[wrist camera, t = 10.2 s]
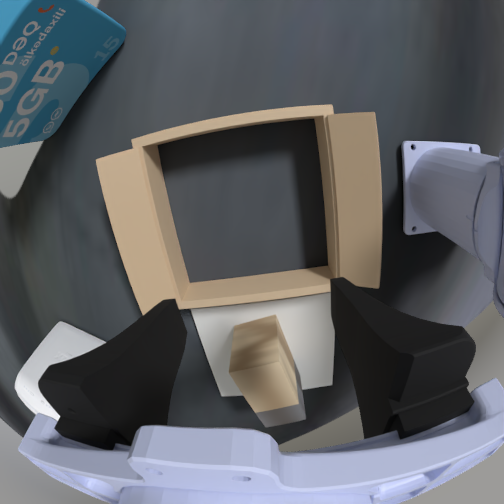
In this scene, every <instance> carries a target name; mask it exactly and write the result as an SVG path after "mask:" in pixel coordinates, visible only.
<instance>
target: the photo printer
mask: <svg viewBox="0 0 504 504" xmlns="http://www.w3.org/2000/svg"><path fill="white" fill-rule="evenodd" d="M104 343H106V342H105V341H103V340H101V339H99V338H96V337H94V336H92V335H90V334H88V333H86V332H84V331H82V330H80V329H78V328H75V327H73V326H71V325H69V324H67V323H64V322H59V323H57V324H56V326H55V327H54V328H53V329H52V330H51V331H50V333H49V334H48V335H47V336H46V338H45V339H44V340H43V341H42V342H41V344H40V345H39V346H38V348H37V349H36V350H35V351H34V353H33V354H32V355H31V357H30V358H29V359H28V361H27V362H26V363H25V365H24V366H23V368H22V369H21V370H20V372H19V374H18V376H17V378H16V382H15V390H16V391H17V394H18V396H19V397H20V399H21V400H22V401H23V402H24V404H25V405H26V406H27V407H28V408H29V409H30V410H31V411H32V412H34V413H35V414H37V413H41V414H44V415H47V416H50V417H52V418H54V419H55V420H57V421H58V420H59V418H60V415H59V414H58V413H57V412H56V411H55V410H54V409H53V408H52V406H51V405H50V404H49V403H48V402H47V400H46V399H45V398H44V397H43V395H42V394H41V392H40V390H39V387H38V381H39V379H40V378H41V376H42V375H43V373H44V372H45V370H46V369H47V368H48V366H49V365H52V364H56V363H59V362H63V361H66V360H69V359H72V358H75V357H77V356H80V355H82V354H85V353H87V352H89V351H91V350H93V349H95V348H97V347H99V346H101V345H103V344H104Z"/></svg>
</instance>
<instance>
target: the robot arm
mask: <svg viewBox="0 0 504 504" xmlns="http://www.w3.org/2000/svg"><path fill="white" fill-rule="evenodd" d="M411 145H413V147H414V148H413V150H412V149H411ZM469 147H470V151H469ZM401 149H402V164H403V193H404V213H403V231H404V233H405V234H407V235H413V234H420V233H427V232H434V231H438V232H439V233H441V234H443V235H444V236H446V237H447V238H449V239H450V240H452V241H453V242H454V243H456V244H457V245H459V246H460V247H462V248H463V249H465V250H466V251H467V252H469V253H470V254H472V255H473V256H474V257H476V258H477V259H478V260H480V261H481V262H482V263H483V265H484V275H485V276H486V277H487V278H488V279H489V280H491V281H492V282H493V283H494V289H493V300H494V304H495V306H496V309H497V310H498V312H499V313H500V314H501V315H502V317H503V318H504V149H503V150H501V151H500V152H499V157H494V156H490V155H485V154H480V147H479V146H478V145H476V144H465V143H451V142H430V141H404V142H403V143H402V145H401ZM413 227H415V228H414V230H412V228H413ZM330 290H331V318H332V322H333V326H334V330H335V333H336V336H337V338H338V341H339V343H340V346H341V348H342V351H343V353H344V356H345V359H346V361H347V364H348V366H349V369H350V372H351V375H352V378H353V382H354V386H355V391H356V395H357V400H358V404H359V409H360V415H361V420H362V426H363V432H364V439H363V440H359V441H355V442H351V443H346V444H341V445H336V446H330V447H325V448H319V449H312V450H305V451H297V452H280V451H279V448H278V444H277V442H276V441H275V440H274V439H273V438H272V437H271V436H270V435H269V434H267V433H264V432H261V431H257V430H255V429H247V428H235V427H231V428H203V427H179V426H167V419H168V411H169V404H170V398H171V393H172V389H173V385H174V382H175V378H176V375H177V372H178V369H179V366H180V363H181V359H182V356H183V353H184V349H185V344H186V337H187V330H186V327H185V325H184V322H183V319H182V316H181V314H180V311H179V308H178V305H177V302H176V299H165V300H162V301H161V302H159V303H158V304H157V305H155V306H154V307H153V308H152V309H151V310H149V311H148V312H147V313H146V314H144V315H143V316H142V317H141V318H140V319H138V320H137V321H136V322H135V323H133V324H132V325H131V326H129V327H128V328H127V329H125V330H124V331H123V332H121V333H120V334H119V335H117V336H116V337H114V338H113V339H111V340H109V341H108V342H106V343H104V344H103V345H101V346H99V347H97V348H95V349H93V350H91V351H89V352H87V353H85V354H82V355H80V356H77V357H75V358H72V359H69V360H66V361H63V362H59V363H56V364H52V365H49V366H48V368H47V369H46V370H45V372H44V373H43V375H42V376H41V378H40V379H39V381H38V387H39V390H40V392H41V394H42V395H43V397H44V398H45V399H46V400H47V402H48V403H49V404H50V405H51V406H52V408H53V409H54V410H55V411H56V412H57V413H58V414H59V415H60V418H59V420H58V421H57V420H55V419H54V418H52V417H50V416H47V415H44V414H41V413H37V414H36V416H35V418H34V420H33V421H32V423H31V425H30V427H29V429H28V430H27V432H26V434H25V436H24V438H23V440H22V442H21V444H20V445H19V448H18V450H19V452H21V453H22V454H23V455H24V456H26V457H27V458H28V459H29V460H30V461H31V462H32V463H34V464H35V465H36V466H38V467H39V468H40V469H41V470H43V471H44V472H45V473H47V474H48V475H50V476H51V477H53V478H54V479H56V480H58V481H60V482H62V483H64V484H66V485H68V486H71V487H73V488H75V489H77V490H79V491H81V492H84V493H86V494H88V495H90V496H93V497H95V498H97V499H100V500H102V501H105V502H107V503H110V504H398V503H401V502H404V501H406V500H409V499H411V498H413V497H416V496H418V495H420V494H422V493H425V492H427V491H429V490H431V489H433V488H435V487H437V486H439V485H441V484H443V483H445V482H447V481H448V480H450V479H452V478H454V477H456V476H458V475H459V474H461V473H463V472H465V471H467V470H468V469H470V468H472V467H473V466H475V465H476V464H478V463H480V462H481V461H483V460H485V459H486V458H488V457H489V456H491V455H492V454H493V453H494V452H495V451H496V450H497V449H498V448H499V447H500V446H501V445H502V444H503V443H504V389H503V387H502V386H501V384H500V383H499V381H498V380H497V378H494V379H492V380H490V381H488V382H486V383H484V384H482V385H480V386H478V387H477V388H475V389H474V390H473V391H472V392H471V393H469V392H468V390H467V388H466V387H467V386H468V385H469V382H468V380H467V379H466V377H465V376H466V374H467V371H468V369H469V367H470V365H471V363H472V361H473V358H474V355H475V352H476V345H475V342H474V340H473V339H472V338H471V337H470V335H469V334H468V333H467V332H466V331H465V329H464V328H463V327H462V326H454V325H446V324H440V323H435V322H431V321H427V320H423V319H419V318H416V317H414V316H411V315H408V314H405V313H403V312H400V311H398V310H396V309H394V308H391V307H389V306H387V305H386V304H384V303H382V302H380V301H379V300H377V299H375V298H373V297H372V296H370V295H369V294H367V293H366V292H364V291H363V290H361V289H360V288H358V287H357V286H356V285H354V284H353V283H351V282H350V281H349V280H347V279H346V278H344V277H339V278H333V279H330Z"/></svg>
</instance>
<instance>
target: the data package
mask: <svg viewBox="0 0 504 504" xmlns="http://www.w3.org/2000/svg"><path fill="white" fill-rule="evenodd" d="M125 37H126V30H125V28H124V27H123V26H121V25H120V24H119V23H117V22H116V21H115V20H113V19H112V18H110V17H109V16H108V15H106V14H105V13H103V12H102V11H100V10H99V9H97V8H96V7H94V6H93V5H91V4H89V3H88V2H86V1H85V0H0V148H2V147H7V146H13V145H18V144H24V143H30V142H37V141H43V140H45V139H47V138H49V137H50V136H52V135H53V134H54V133H55V132H56V131H57V129H58V128H59V127H60V125H61V123H62V122H63V120H64V119H65V117H66V116H67V114H68V113H69V111H70V109H71V108H72V107H73V105H74V104H75V102H76V101H77V99H78V98H79V96H80V95H81V94H82V92H83V91H84V90H85V88H86V87H87V86H88V84H89V83H90V82H91V80H92V79H93V78H94V76H95V75H96V74H97V73H98V71H99V70H100V69H101V68H102V67H103V65H104V64H105V63H106V62H107V61H108V60H109V58H110V57H111V56H112V55H113V54H114V53H115V52H116V51H117V49H118V48H119V47H120V46H121V45H122V43H123V42H124V40H125Z"/></svg>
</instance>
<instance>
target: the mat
mask: <svg viewBox="0 0 504 504" xmlns="http://www.w3.org/2000/svg"><path fill="white" fill-rule="evenodd" d="M191 312H192V315H193V318H194V321H195V324H196V327H197V330H198V333H199V336H200V339H201V342H202V345H203V348H204V350H205V353H206V356H207V359H208V362H209V364H210V367H211V370H212V372H213V375H214V378H215V380H216V383H217V386H218V388H219V391H220V393H221V396H242V395H243V394H242V393H241V391H240V390H239V388H238V387H237V385H236V384H235V382H234V380H233V379H232V377H231V376H230V374H229V365H230V357H231V349H232V340H233V332H234V326H235V325H239V324H242V323H246V322H250V321H253V320H257V319H261V318H264V317H268V316H271V315H275V314H276V316H277V319H278V321H279V324H280V326H281V329H282V331H283V334H284V336H285V339H286V341H287V344H288V346H289V349H290V351H291V354H292V356H293V359H294V361H295V364H296V366H297V369H298V371H299V374H300V378H301V385H302V390H303V389H310V388H317V387H323V386H329V385H332V380H333V364H334V341H335V330H334V326H333V322H332V318H331V292H324V293H318V294H311V295H304V296H297V297H289V298H282V299H274V300H266V301H258V302H249V303H240V304H231V305H221V306H211V307H200V308H191Z"/></svg>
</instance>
